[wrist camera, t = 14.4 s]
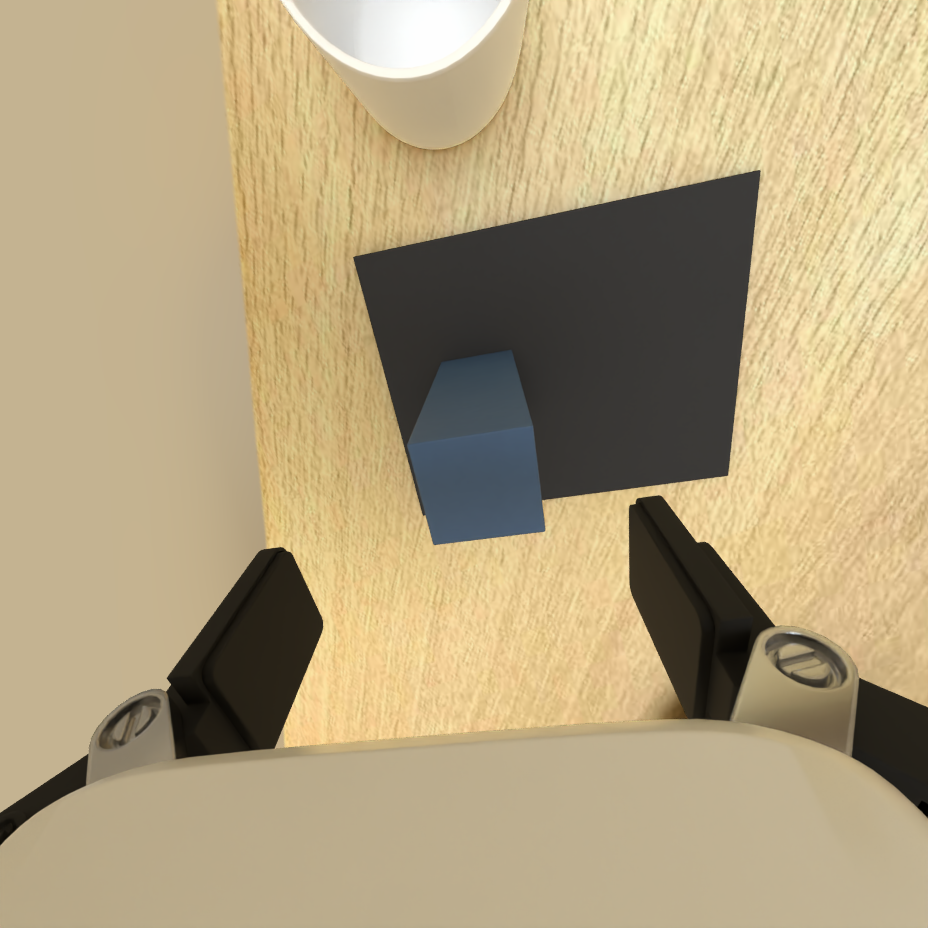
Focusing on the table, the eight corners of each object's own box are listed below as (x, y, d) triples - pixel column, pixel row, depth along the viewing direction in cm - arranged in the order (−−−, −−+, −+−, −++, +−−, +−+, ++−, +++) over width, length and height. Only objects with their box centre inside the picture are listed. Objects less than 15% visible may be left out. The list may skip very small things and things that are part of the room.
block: (454, 427, 28) (433, 545, 17) (441, 361, 26) (406, 444, 15) (520, 416, 28) (545, 532, 16) (511, 349, 26) (533, 425, 14)
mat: (423, 513, 32) (423, 515, 32) (354, 257, 24) (352, 257, 24) (725, 473, 29) (728, 476, 29) (756, 171, 22) (761, 169, 21)
